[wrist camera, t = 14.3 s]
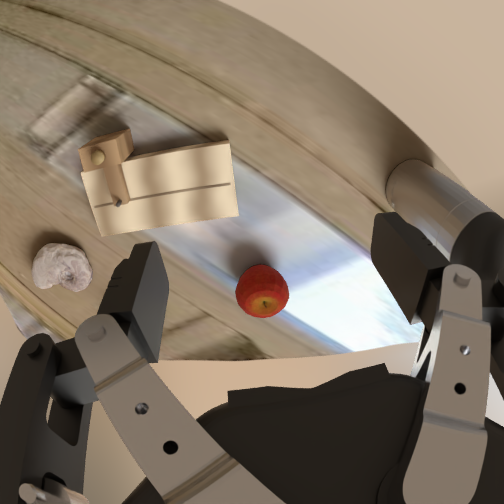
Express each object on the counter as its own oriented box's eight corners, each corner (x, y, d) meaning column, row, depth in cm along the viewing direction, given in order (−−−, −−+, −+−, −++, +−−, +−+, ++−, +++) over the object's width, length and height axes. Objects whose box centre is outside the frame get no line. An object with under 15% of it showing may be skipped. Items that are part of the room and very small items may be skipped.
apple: (240, 251, 47) (244, 284, 40) (289, 258, 49) (300, 291, 42) (230, 290, 51) (232, 324, 45) (275, 295, 53) (283, 329, 46)
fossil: (76, 249, 39) (95, 298, 45) (84, 233, 43) (100, 281, 49) (15, 255, 38) (37, 300, 44) (25, 239, 41) (44, 284, 47)
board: (229, 139, 37) (229, 143, 36) (237, 209, 43) (238, 216, 41) (86, 167, 37) (80, 172, 35) (105, 229, 42) (101, 236, 41)
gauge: (129, 128, 35) (113, 140, 29) (144, 190, 40) (132, 213, 34) (96, 137, 35) (75, 151, 29) (112, 197, 40) (96, 219, 34)
